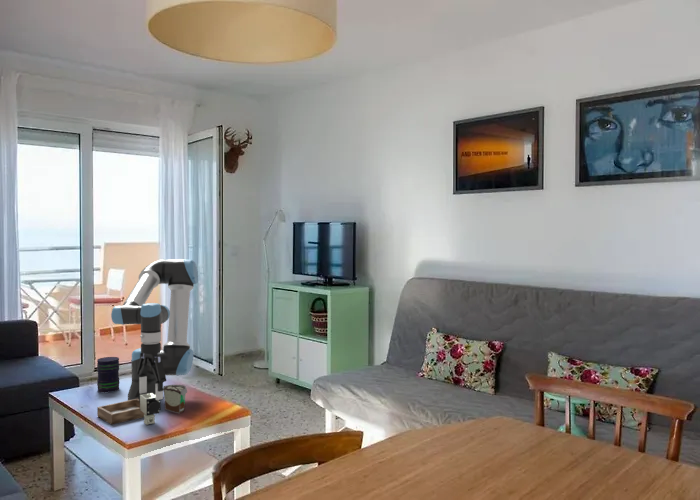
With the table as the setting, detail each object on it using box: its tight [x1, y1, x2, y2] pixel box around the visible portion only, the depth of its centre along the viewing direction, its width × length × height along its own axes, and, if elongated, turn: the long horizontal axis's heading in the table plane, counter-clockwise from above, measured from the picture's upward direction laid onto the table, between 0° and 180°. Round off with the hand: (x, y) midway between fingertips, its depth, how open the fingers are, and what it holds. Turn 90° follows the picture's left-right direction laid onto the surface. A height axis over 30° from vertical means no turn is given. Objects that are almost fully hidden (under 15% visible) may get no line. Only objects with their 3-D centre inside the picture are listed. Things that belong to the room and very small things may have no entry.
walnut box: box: [96, 399, 145, 425], centre depth 234 cm, size 17×14×4 cm
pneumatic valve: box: [139, 393, 162, 426], centre depth 225 cm, size 6×12×12 cm, turn 38°
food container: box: [163, 384, 188, 414], centre depth 243 cm, size 12×6×10 cm, turn 56°
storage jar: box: [96, 356, 120, 393], centre depth 273 cm, size 10×10×15 cm
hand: (151, 396), depth 225 cm, fingers open, 13 cm apart
